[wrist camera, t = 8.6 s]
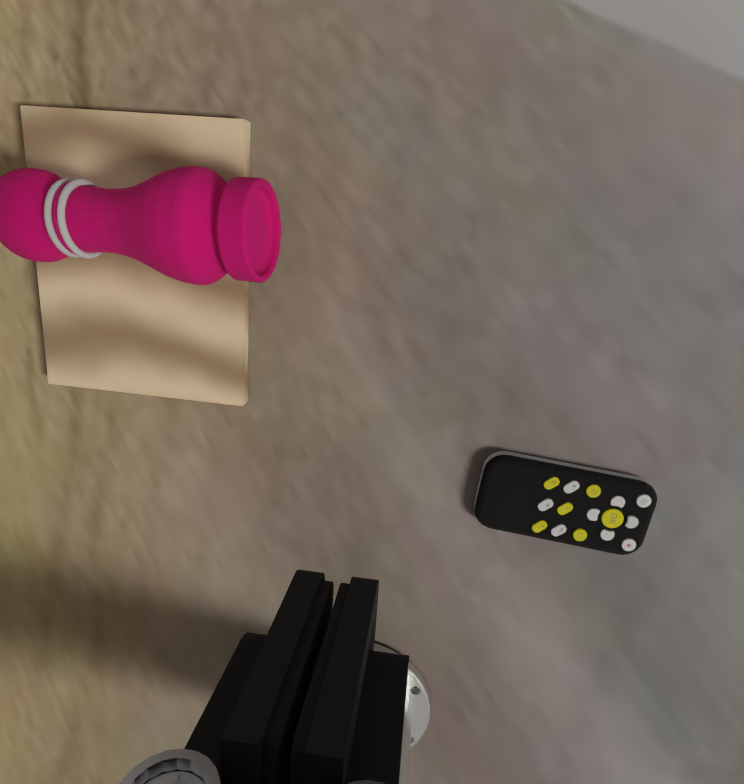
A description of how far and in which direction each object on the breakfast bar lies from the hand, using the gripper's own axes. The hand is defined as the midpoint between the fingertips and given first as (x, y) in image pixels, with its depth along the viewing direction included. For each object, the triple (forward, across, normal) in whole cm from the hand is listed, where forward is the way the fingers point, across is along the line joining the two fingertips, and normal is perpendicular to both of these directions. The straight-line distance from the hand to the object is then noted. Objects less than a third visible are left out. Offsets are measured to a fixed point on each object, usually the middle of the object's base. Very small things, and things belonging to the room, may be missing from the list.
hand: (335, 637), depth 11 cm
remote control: (+31, -12, +10) cm, 35 cm away
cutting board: (+30, +20, -5) cm, 37 cm away
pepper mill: (+25, +9, -8) cm, 28 cm away
